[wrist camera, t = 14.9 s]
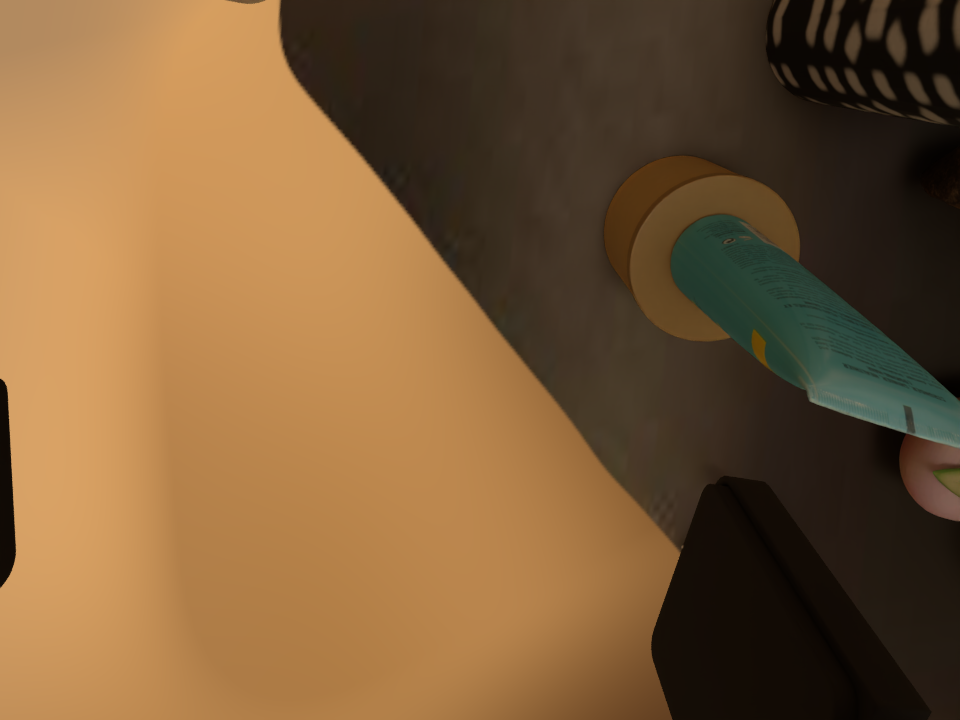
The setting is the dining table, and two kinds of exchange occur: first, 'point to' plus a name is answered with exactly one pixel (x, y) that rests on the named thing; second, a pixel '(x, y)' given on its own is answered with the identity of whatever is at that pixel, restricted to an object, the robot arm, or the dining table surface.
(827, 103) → the black spotted cylinder
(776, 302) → the tube
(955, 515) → the decorative fruit
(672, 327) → the canister
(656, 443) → the dining table surface
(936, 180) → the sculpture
